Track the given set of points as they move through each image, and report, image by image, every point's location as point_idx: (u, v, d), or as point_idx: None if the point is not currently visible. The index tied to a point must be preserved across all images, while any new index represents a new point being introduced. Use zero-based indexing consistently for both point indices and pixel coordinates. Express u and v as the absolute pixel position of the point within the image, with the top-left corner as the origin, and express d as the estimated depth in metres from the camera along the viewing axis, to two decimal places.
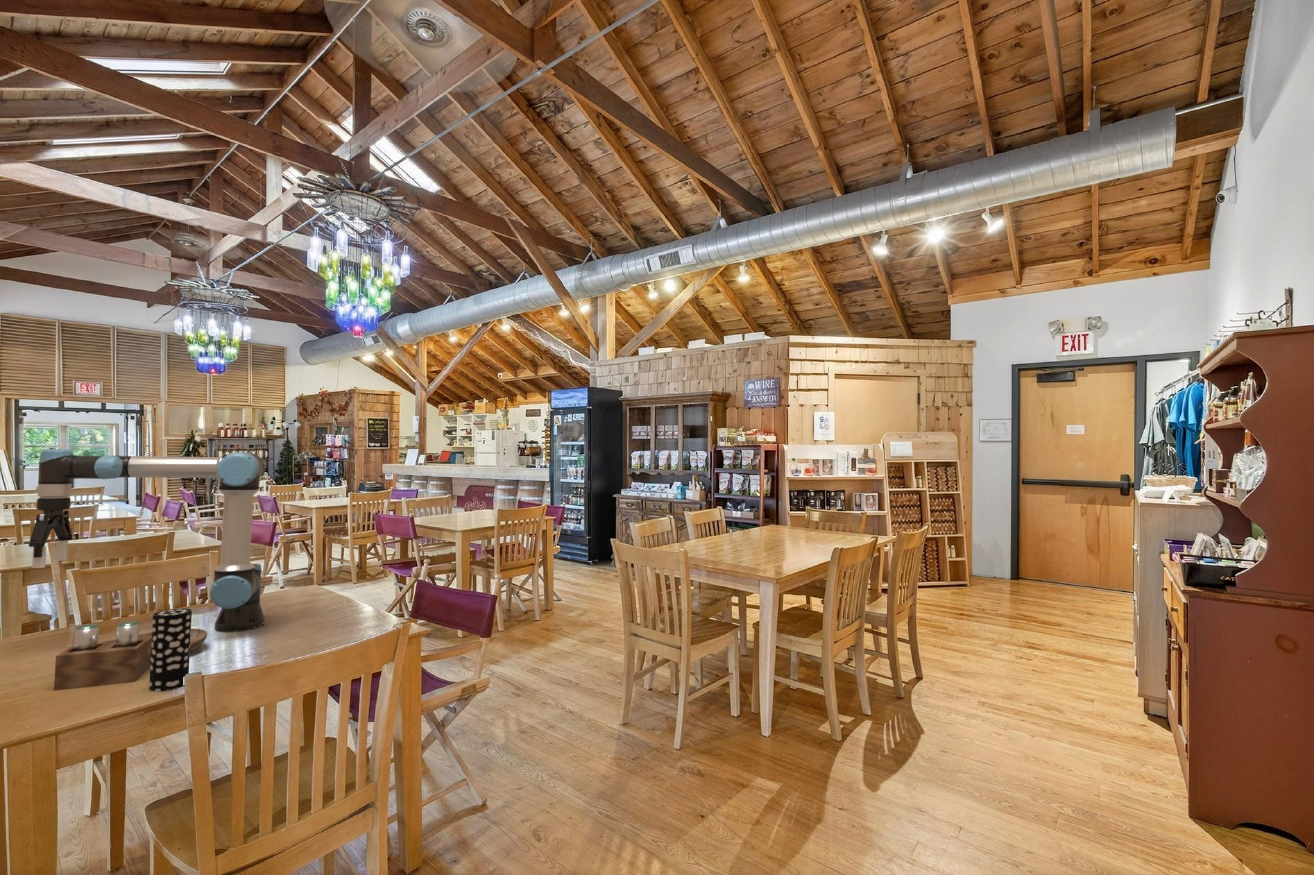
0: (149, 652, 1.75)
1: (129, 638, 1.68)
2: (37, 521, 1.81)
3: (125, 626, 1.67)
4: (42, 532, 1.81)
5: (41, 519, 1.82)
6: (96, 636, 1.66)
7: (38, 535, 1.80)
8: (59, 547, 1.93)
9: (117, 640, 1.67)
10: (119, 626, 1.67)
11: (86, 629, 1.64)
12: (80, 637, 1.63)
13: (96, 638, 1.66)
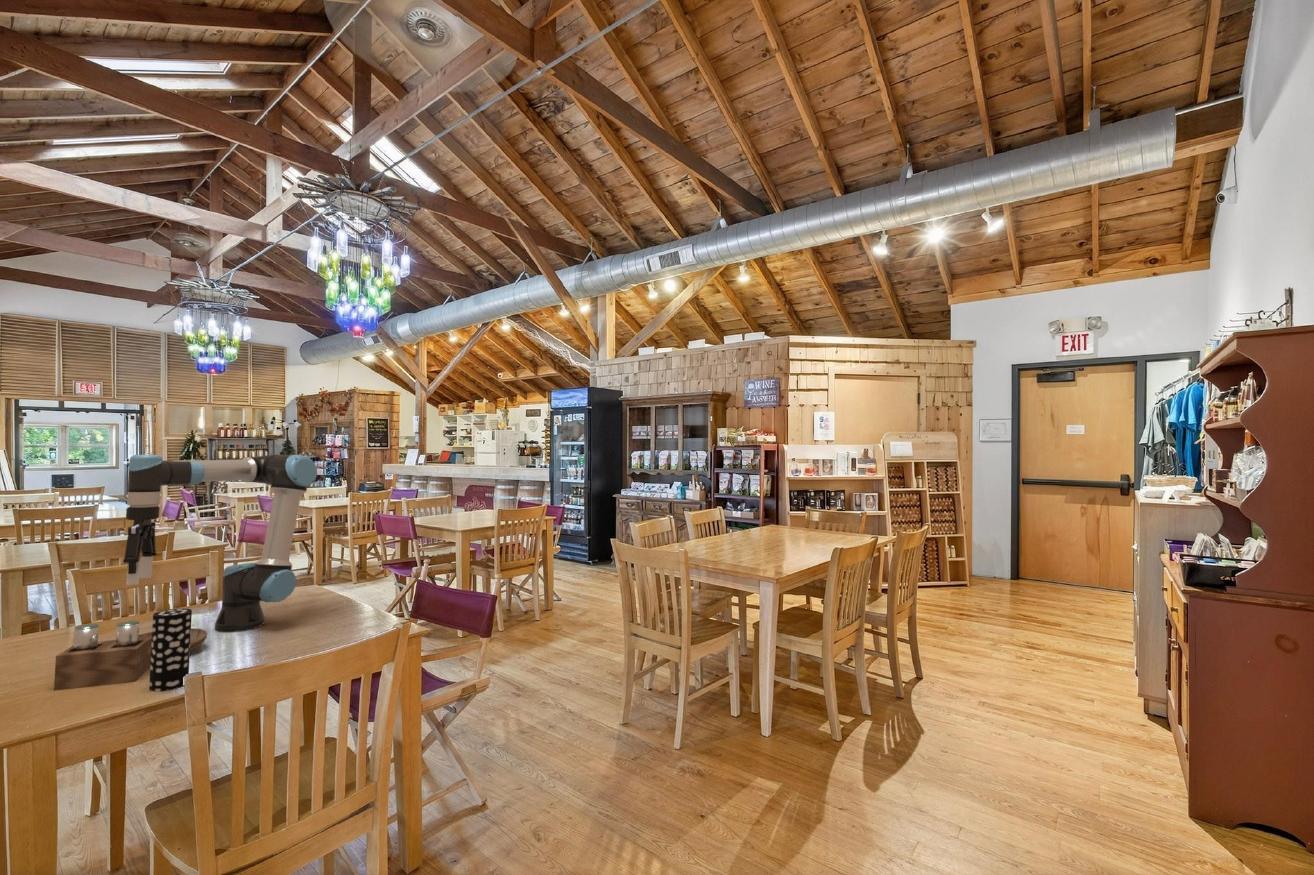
0: (149, 652, 1.75)
1: (129, 638, 1.68)
2: (129, 534, 1.70)
3: (125, 626, 1.67)
4: (136, 547, 1.70)
5: (133, 532, 1.71)
6: (96, 636, 1.66)
7: (132, 550, 1.70)
8: (143, 564, 1.80)
9: (117, 640, 1.67)
10: (119, 626, 1.67)
11: (86, 629, 1.64)
12: (80, 637, 1.63)
13: (96, 638, 1.66)
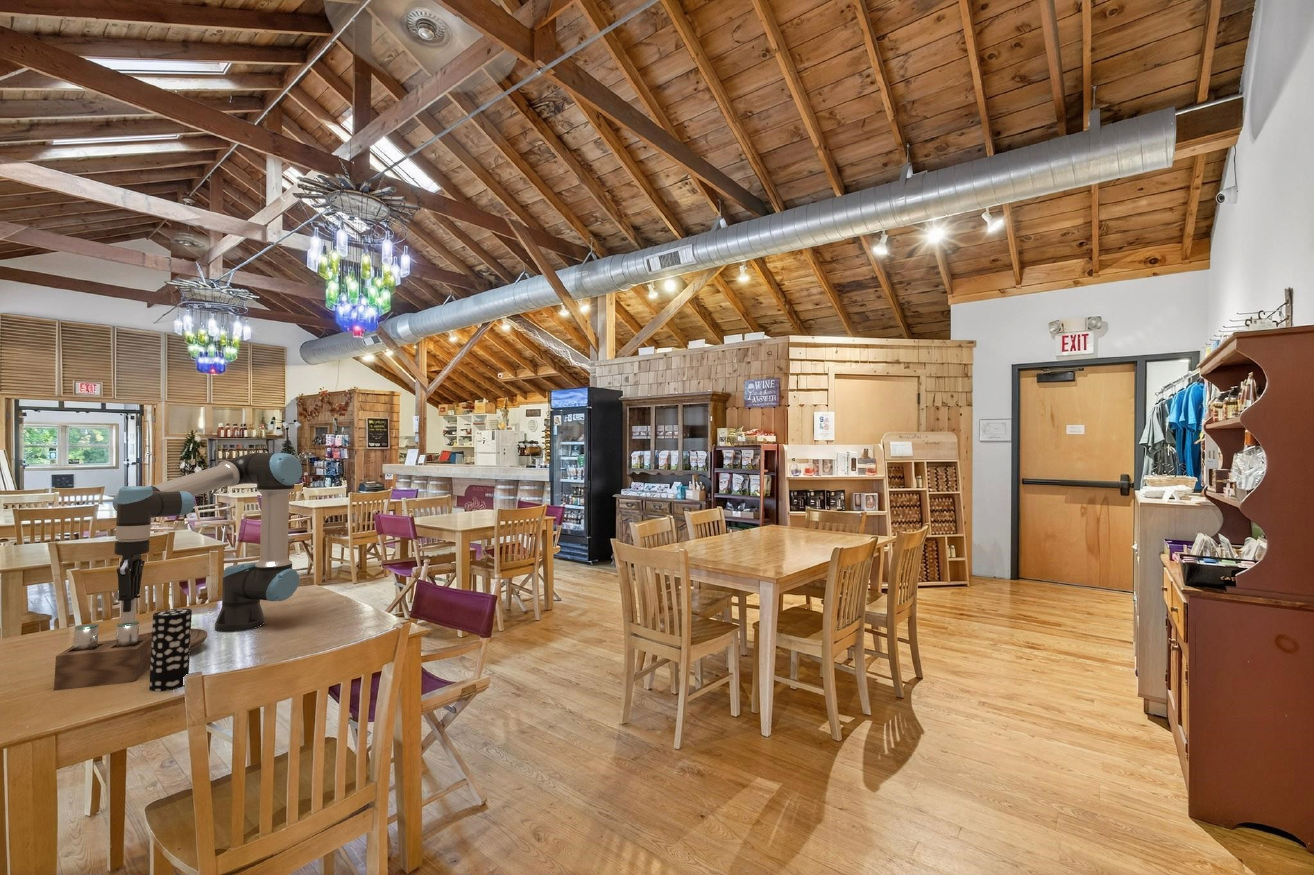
0: (149, 652, 1.75)
1: (129, 638, 1.68)
2: (119, 575, 1.65)
3: (125, 626, 1.67)
4: (129, 587, 1.66)
5: (123, 573, 1.65)
6: (96, 636, 1.66)
7: (125, 590, 1.66)
8: None
9: (117, 640, 1.67)
10: (119, 626, 1.67)
11: (86, 629, 1.64)
12: (80, 637, 1.63)
13: (96, 638, 1.66)
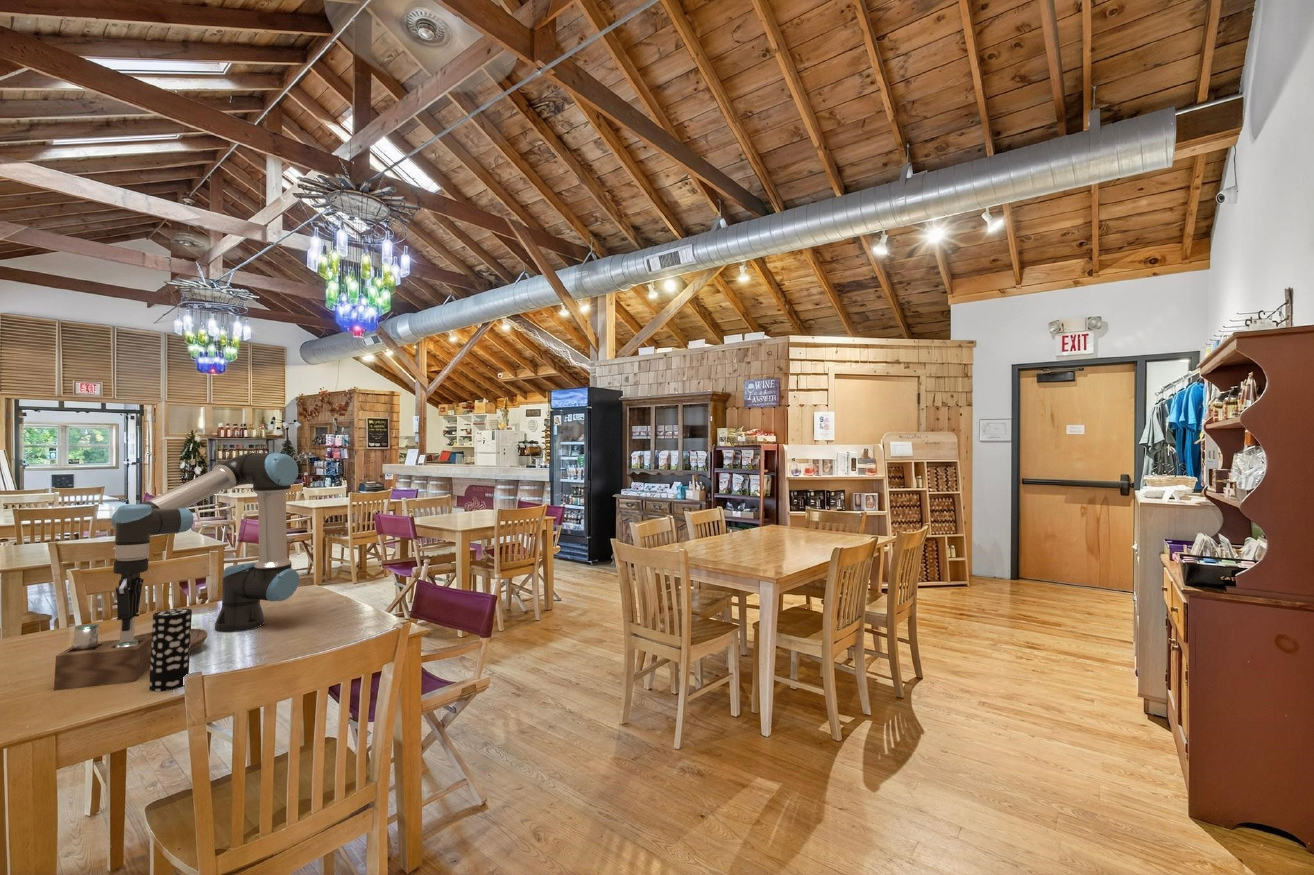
0: (149, 652, 1.75)
1: None
2: (118, 594, 1.64)
3: (124, 645, 1.67)
4: (128, 606, 1.66)
5: (122, 593, 1.65)
6: (96, 636, 1.66)
7: (124, 609, 1.66)
8: None
9: None
10: (118, 645, 1.67)
11: (86, 629, 1.64)
12: (80, 637, 1.63)
13: (96, 638, 1.66)
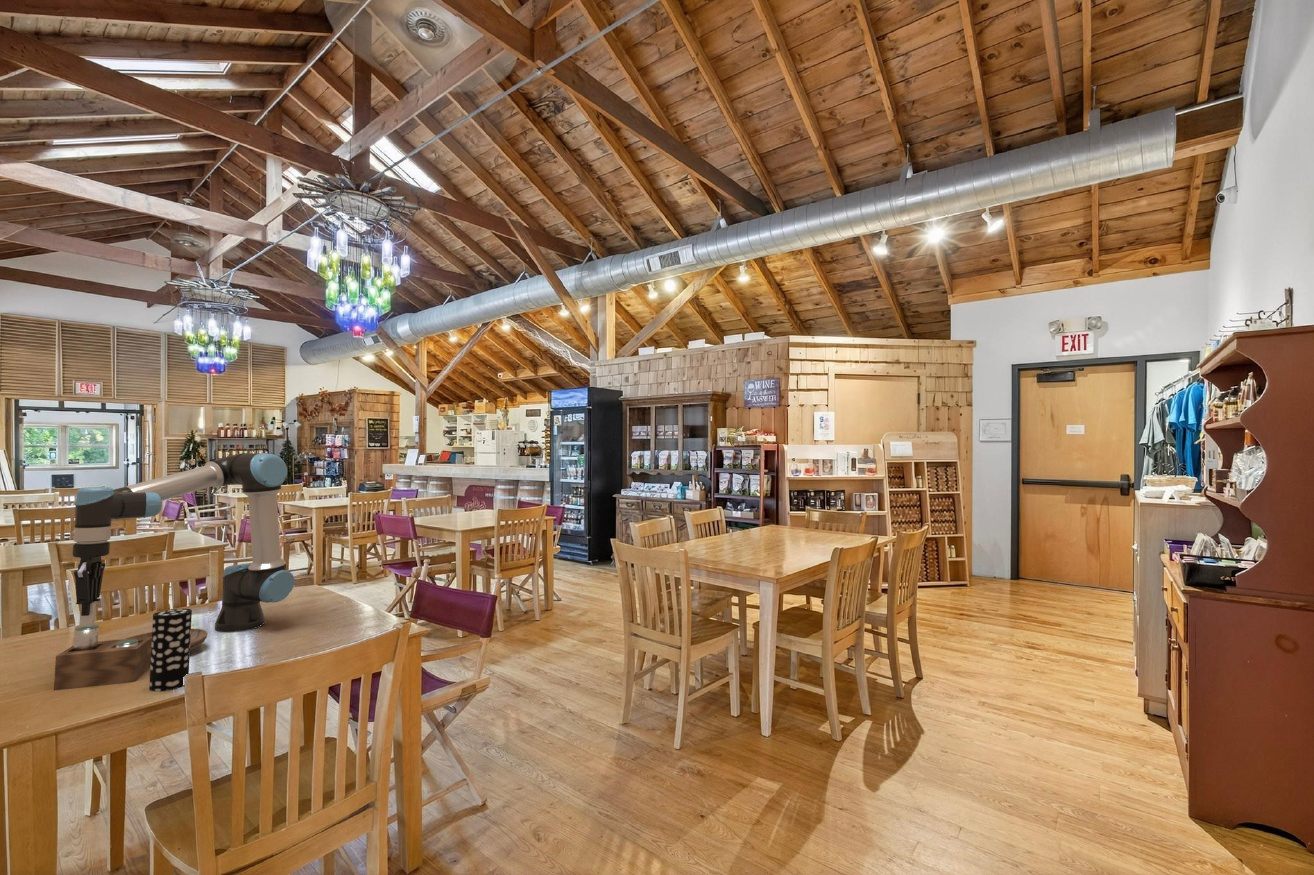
0: (149, 652, 1.75)
1: None
2: (77, 578, 1.61)
3: (124, 645, 1.67)
4: (87, 590, 1.62)
5: (80, 576, 1.61)
6: (96, 637, 1.66)
7: (83, 593, 1.62)
8: None
9: None
10: (118, 645, 1.67)
11: (86, 630, 1.64)
12: (80, 638, 1.63)
13: (96, 639, 1.66)
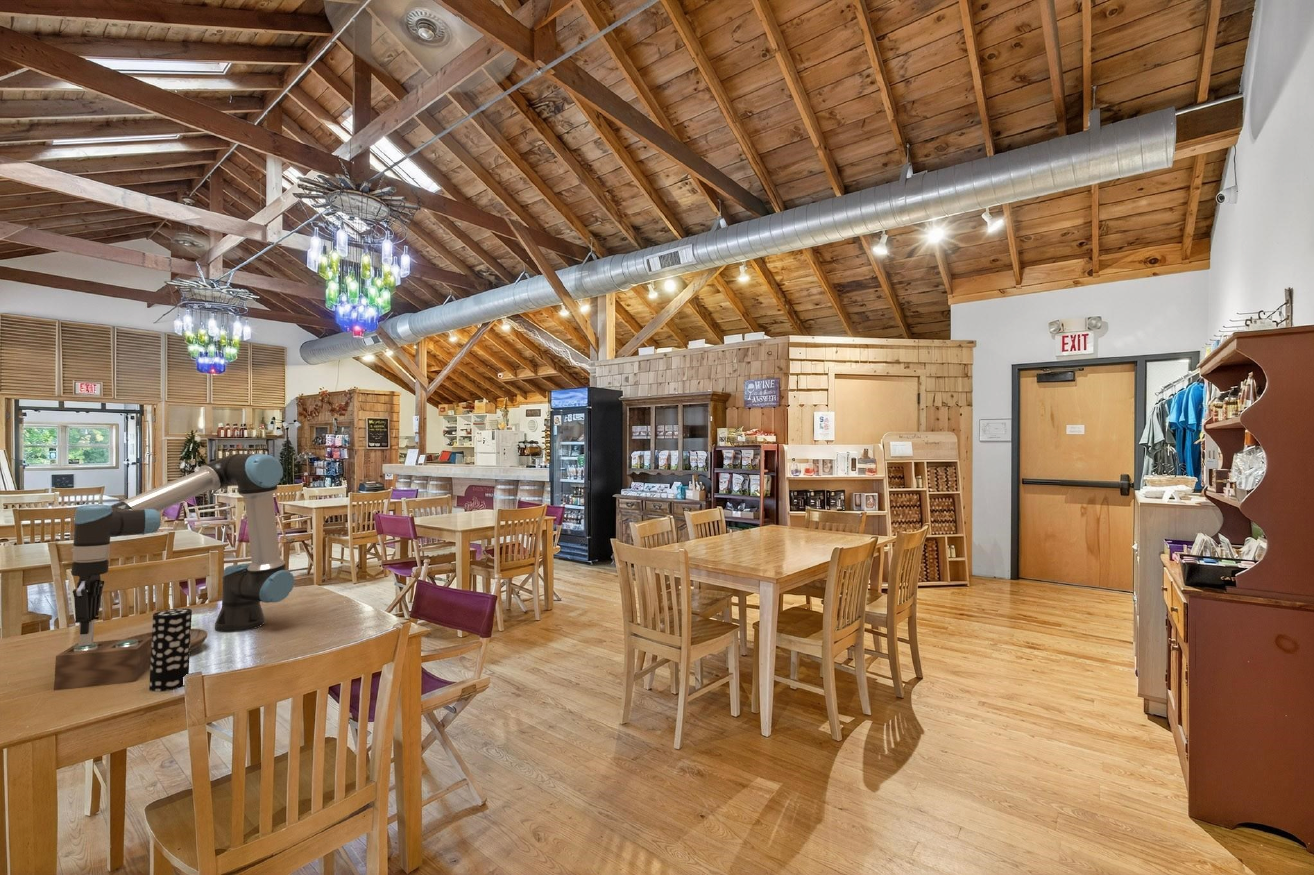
0: (149, 652, 1.75)
1: None
2: (75, 597, 1.61)
3: (124, 645, 1.67)
4: (86, 609, 1.62)
5: (79, 595, 1.61)
6: None
7: (82, 612, 1.62)
8: None
9: None
10: (118, 645, 1.67)
11: (85, 649, 1.64)
12: None
13: None
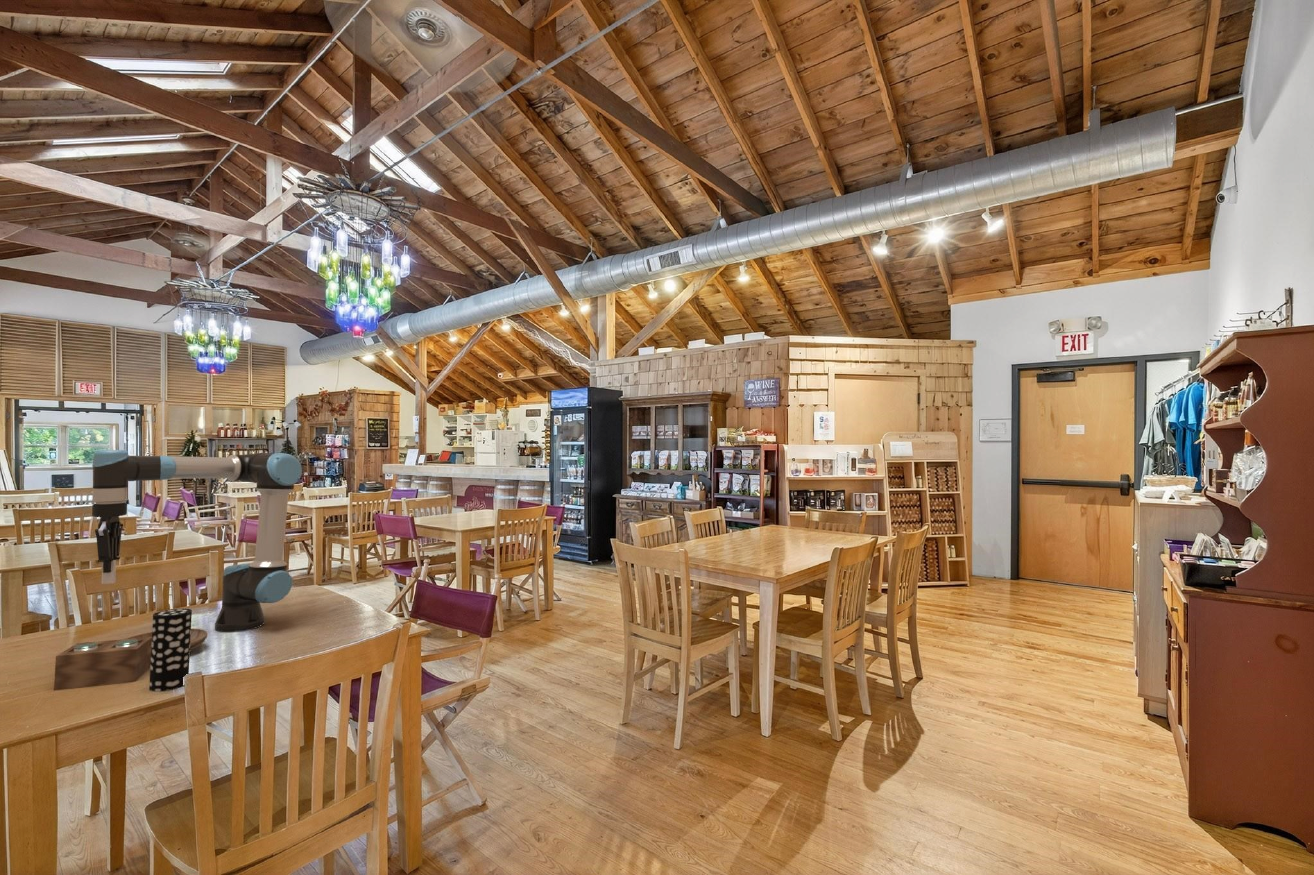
0: (149, 652, 1.75)
1: None
2: (98, 536, 1.67)
3: (124, 645, 1.67)
4: (108, 548, 1.69)
5: (101, 535, 1.68)
6: None
7: (105, 551, 1.69)
8: None
9: None
10: (118, 645, 1.67)
11: (85, 649, 1.64)
12: None
13: None
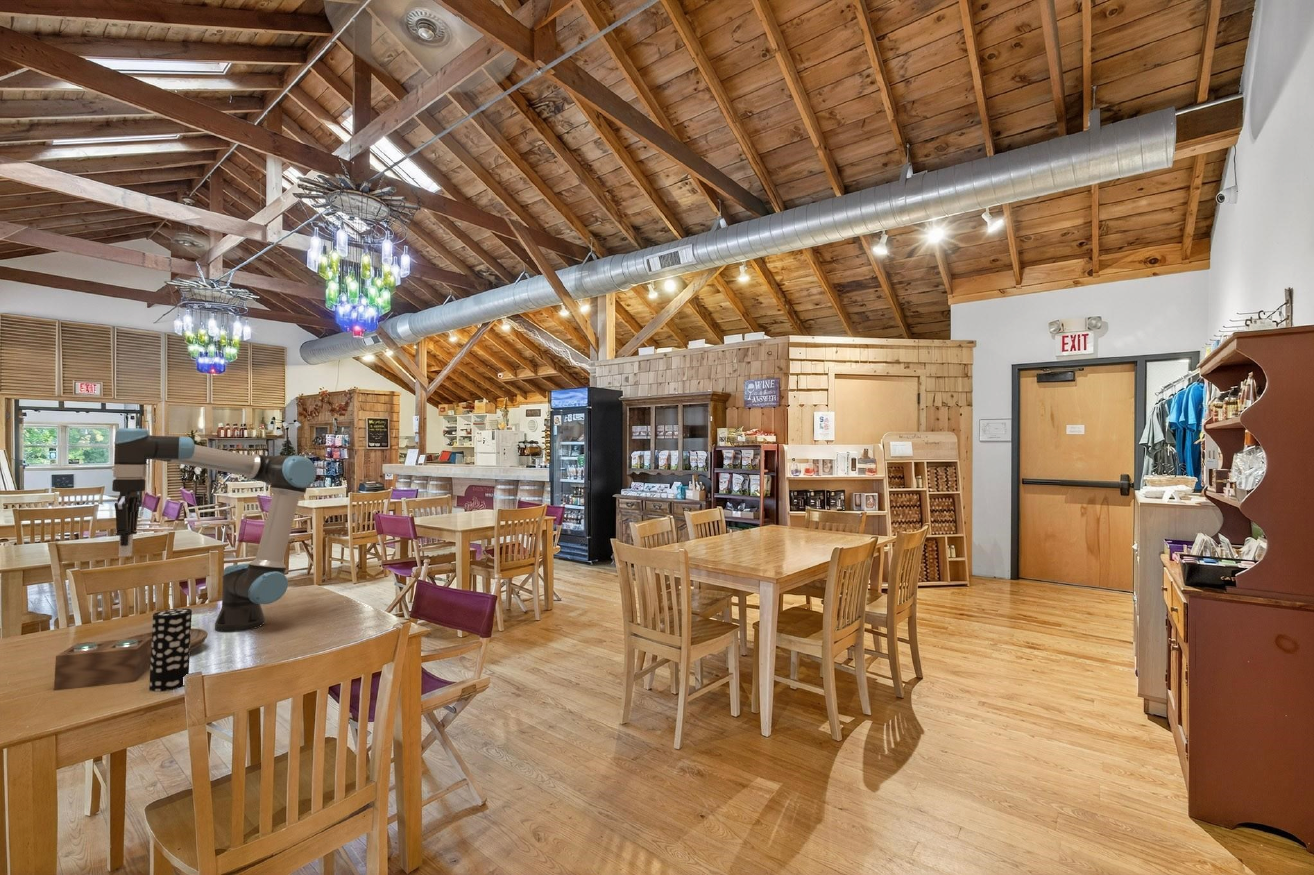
0: (149, 652, 1.75)
1: None
2: (117, 510, 1.75)
3: (124, 645, 1.67)
4: (126, 521, 1.76)
5: (120, 508, 1.75)
6: None
7: (123, 524, 1.76)
8: None
9: None
10: (118, 645, 1.67)
11: (85, 649, 1.64)
12: None
13: None
